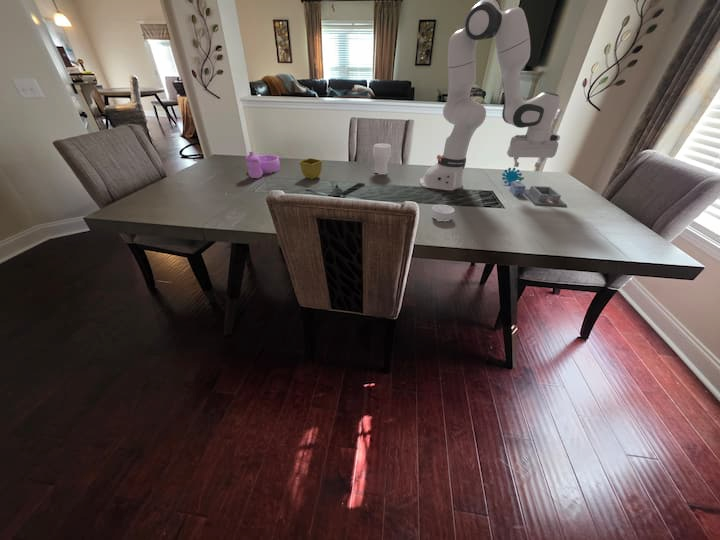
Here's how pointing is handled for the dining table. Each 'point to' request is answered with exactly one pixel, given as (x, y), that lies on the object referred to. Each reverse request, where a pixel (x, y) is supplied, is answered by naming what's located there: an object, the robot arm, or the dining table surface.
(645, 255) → the dining table surface
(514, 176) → the blue virus model
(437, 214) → the ramekin
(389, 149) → the cup
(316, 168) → the flower pot
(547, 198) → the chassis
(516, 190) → the servo
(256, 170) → the container set
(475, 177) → the dining table surface
